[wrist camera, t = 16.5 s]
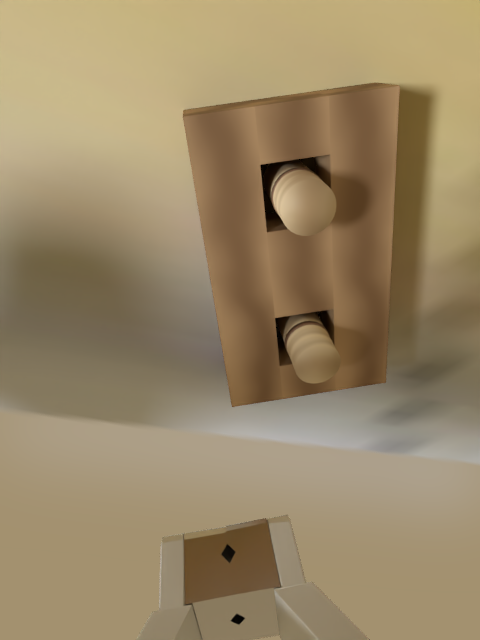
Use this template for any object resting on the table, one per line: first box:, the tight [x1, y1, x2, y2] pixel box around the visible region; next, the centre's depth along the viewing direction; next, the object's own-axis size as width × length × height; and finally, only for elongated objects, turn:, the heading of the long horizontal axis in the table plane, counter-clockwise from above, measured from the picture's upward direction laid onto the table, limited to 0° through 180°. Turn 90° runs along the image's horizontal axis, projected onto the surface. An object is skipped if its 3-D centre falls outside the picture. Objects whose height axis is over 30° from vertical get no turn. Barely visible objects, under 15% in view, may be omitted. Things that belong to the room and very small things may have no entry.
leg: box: [275, 312, 341, 384], centre depth 39 cm, size 4×4×8 cm
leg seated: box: [263, 159, 336, 236], centre depth 33 cm, size 4×4×8 cm
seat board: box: [183, 83, 400, 407], centre depth 37 cm, size 14×24×4 cm, turn 7°
